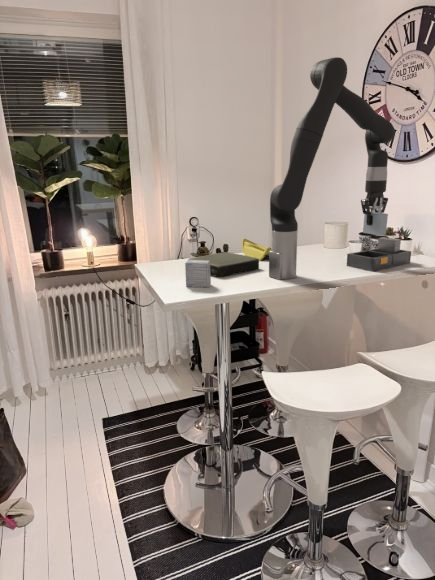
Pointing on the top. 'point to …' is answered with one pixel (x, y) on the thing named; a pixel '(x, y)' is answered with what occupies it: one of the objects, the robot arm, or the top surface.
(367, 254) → the tray
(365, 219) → the light blue block
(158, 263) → the top surface
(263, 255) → the plastic component
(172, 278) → the top surface
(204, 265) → the medicine box
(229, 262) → the network switch
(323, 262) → the top surface
